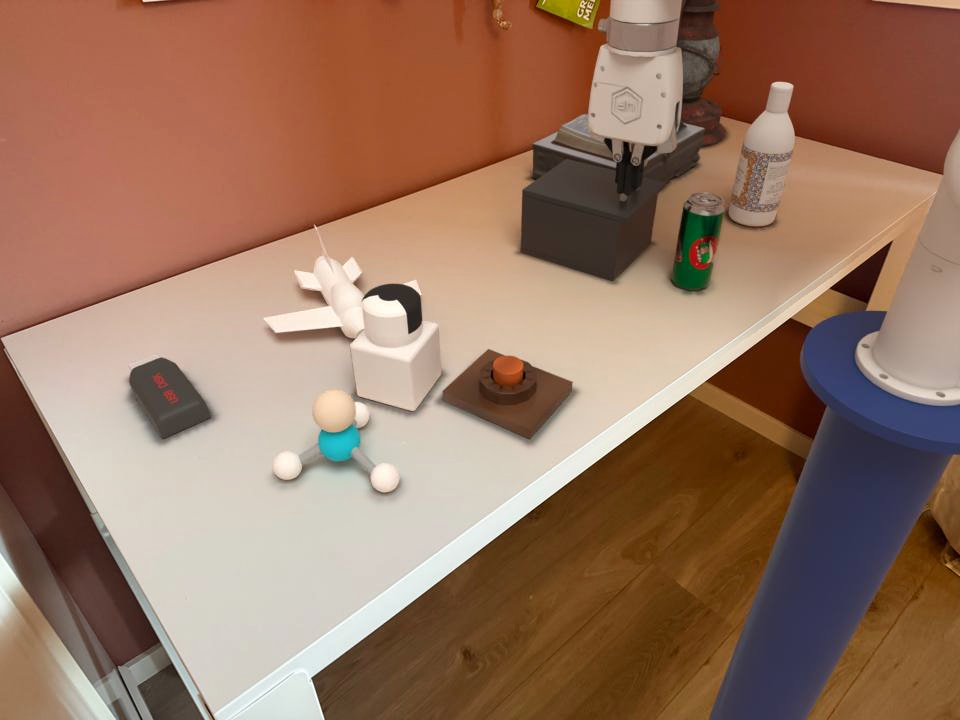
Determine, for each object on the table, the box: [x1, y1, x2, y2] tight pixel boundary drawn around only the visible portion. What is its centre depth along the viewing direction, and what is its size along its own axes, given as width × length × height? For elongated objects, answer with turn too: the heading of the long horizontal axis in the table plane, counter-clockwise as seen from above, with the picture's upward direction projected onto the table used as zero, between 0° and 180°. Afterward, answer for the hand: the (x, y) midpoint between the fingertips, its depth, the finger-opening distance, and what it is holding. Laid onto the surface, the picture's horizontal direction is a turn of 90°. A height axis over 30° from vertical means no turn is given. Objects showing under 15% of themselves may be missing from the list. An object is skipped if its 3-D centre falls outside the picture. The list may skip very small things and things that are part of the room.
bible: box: [531, 113, 705, 185], centre depth 122 cm, size 23×27×10 cm
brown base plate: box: [442, 348, 573, 440], centre depth 77 cm, size 11×9×3 cm
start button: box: [493, 355, 523, 386], centre depth 76 cm, size 3×3×2 cm
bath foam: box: [728, 81, 796, 228], centre depth 104 cm, size 7×7×20 cm
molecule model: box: [272, 388, 401, 493], centre depth 68 cm, size 12×12×9 cm
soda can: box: [670, 191, 726, 291], centre depth 92 cm, size 5×5×12 cm
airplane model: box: [262, 224, 423, 339], centre depth 90 cm, size 20×20×8 cm
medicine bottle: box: [349, 283, 442, 412], centre depth 76 cm, size 7×7×12 cm
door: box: [521, 158, 666, 223], centre depth 96 cm, size 15×13×6 cm
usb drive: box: [128, 353, 212, 440], centre depth 78 cm, size 5×12×3 cm, turn 39°
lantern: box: [676, 0, 726, 148], centre depth 131 cm, size 19×19×30 cm
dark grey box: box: [520, 193, 659, 282], centre depth 101 cm, size 15×13×9 cm
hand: (627, 190), depth 90 cm, fingers closed
